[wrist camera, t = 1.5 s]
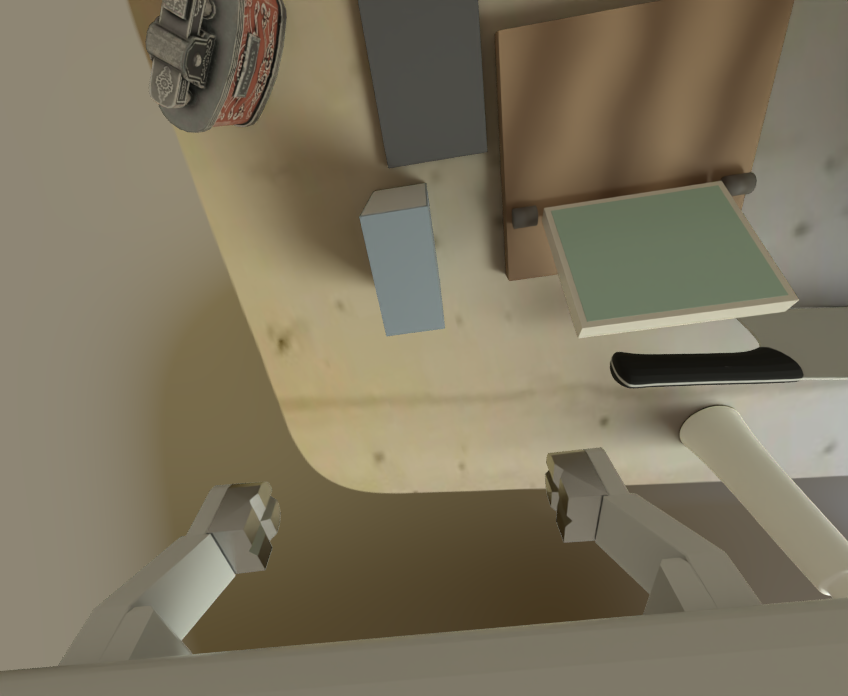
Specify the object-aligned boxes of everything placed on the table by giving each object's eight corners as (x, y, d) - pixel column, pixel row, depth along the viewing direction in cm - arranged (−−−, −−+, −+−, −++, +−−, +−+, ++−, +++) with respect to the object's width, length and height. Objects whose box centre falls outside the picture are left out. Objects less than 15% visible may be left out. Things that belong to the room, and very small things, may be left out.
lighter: (259, 136, 28) (188, 150, 19) (210, 109, 27) (113, 112, 19) (297, 4, 24) (230, -50, 16) (242, -31, 24) (140, -109, 15)
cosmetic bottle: (732, 444, 44) (969, 702, 25) (674, 451, 44) (862, 709, 25) (745, 401, 40) (1026, 658, 22) (683, 409, 41) (905, 667, 22)
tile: (712, 194, 28) (721, 180, 27) (785, 311, 24) (799, 299, 23) (541, 220, 29) (544, 207, 28) (577, 338, 24) (582, 328, 23)
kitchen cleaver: (952, 298, 34) (1089, 388, 27) (934, 313, 36) (1061, 404, 29) (589, 301, 34) (632, 392, 27) (583, 316, 36) (624, 407, 29)
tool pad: (472, -61, 23) (473, -66, 22) (485, 150, 29) (487, 151, 28) (352, -37, 23) (350, -41, 23) (389, 166, 29) (388, 168, 28)
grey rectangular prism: (426, 182, 30) (427, 205, 23) (440, 283, 34) (444, 328, 27) (373, 190, 30) (358, 215, 23) (393, 290, 34) (386, 336, 27)
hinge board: (780, -19, 24) (820, -33, 22) (718, 243, 32) (742, 255, 30) (494, 34, 25) (502, 27, 23) (505, 274, 33) (512, 287, 31)
